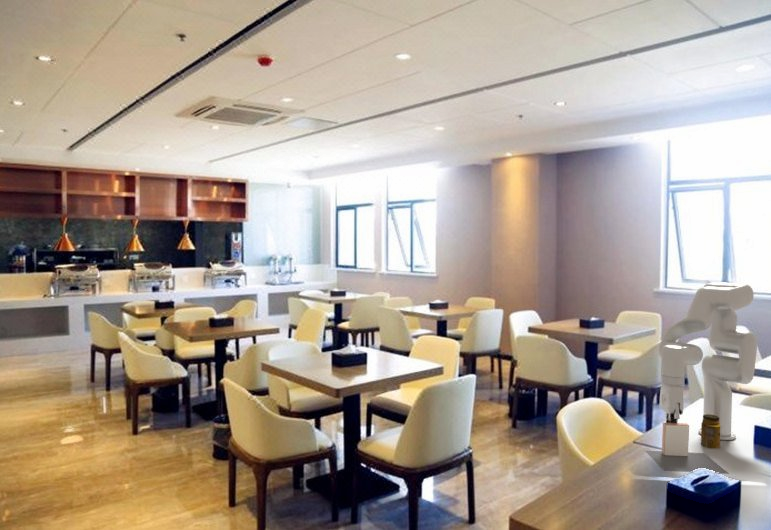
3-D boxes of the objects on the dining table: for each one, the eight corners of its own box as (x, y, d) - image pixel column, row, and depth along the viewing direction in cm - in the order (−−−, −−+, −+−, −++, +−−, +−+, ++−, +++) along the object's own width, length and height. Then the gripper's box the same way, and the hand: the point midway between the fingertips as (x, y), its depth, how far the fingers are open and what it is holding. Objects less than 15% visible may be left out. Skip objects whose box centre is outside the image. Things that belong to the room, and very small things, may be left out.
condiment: (724, 449, 205) (725, 417, 204) (713, 454, 200) (713, 420, 199) (704, 443, 211) (705, 412, 210) (692, 447, 206) (693, 415, 206)
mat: (644, 453, 200) (645, 450, 200) (704, 455, 198) (704, 453, 198) (664, 473, 182) (664, 470, 182) (729, 476, 180) (729, 473, 180)
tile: (661, 453, 198) (662, 422, 197) (685, 454, 197) (686, 423, 196) (664, 455, 195) (665, 424, 195) (688, 456, 194) (689, 425, 194)
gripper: (654, 375, 206) (652, 424, 207) (669, 385, 192) (668, 438, 192) (675, 376, 205) (674, 425, 206) (692, 385, 191) (691, 439, 191)
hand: (671, 431), depth 199 cm, fingers closed
